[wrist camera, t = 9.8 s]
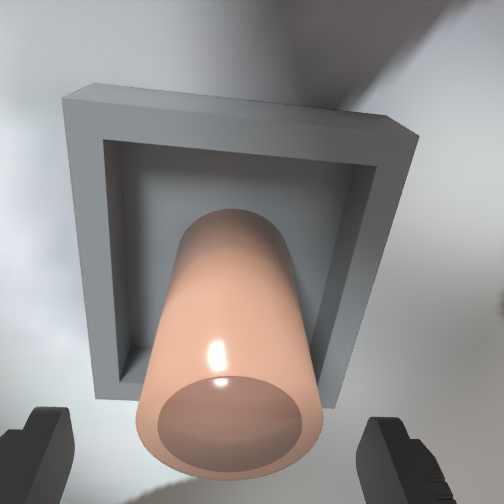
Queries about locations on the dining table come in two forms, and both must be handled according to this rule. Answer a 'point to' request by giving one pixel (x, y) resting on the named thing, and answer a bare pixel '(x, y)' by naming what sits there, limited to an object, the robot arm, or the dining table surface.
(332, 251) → the slate tray
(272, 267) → the terracotta cup
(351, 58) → the dining table surface
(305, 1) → the dining table surface
